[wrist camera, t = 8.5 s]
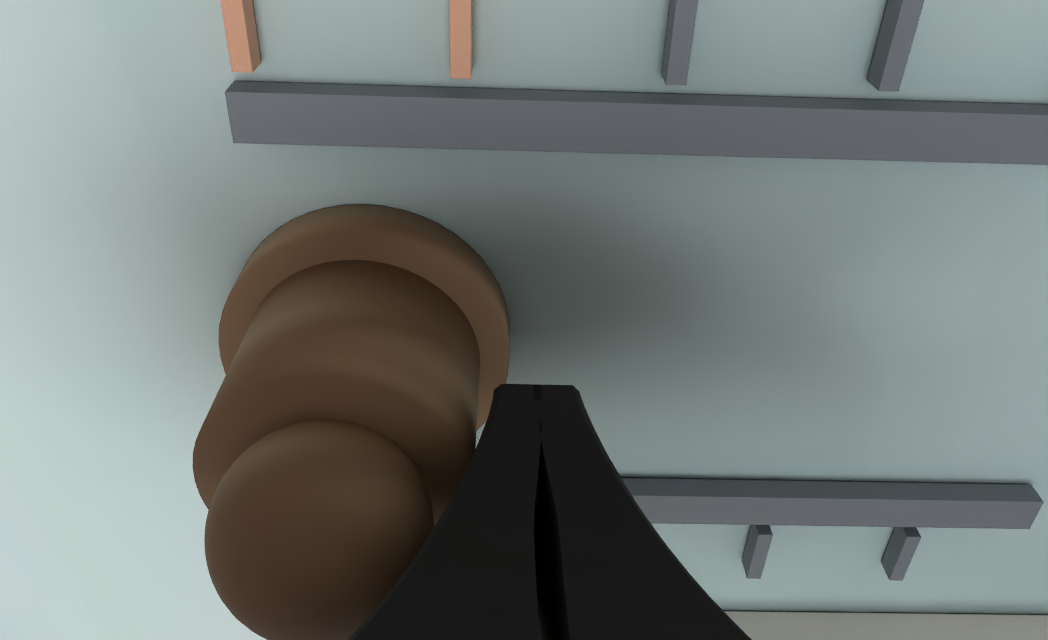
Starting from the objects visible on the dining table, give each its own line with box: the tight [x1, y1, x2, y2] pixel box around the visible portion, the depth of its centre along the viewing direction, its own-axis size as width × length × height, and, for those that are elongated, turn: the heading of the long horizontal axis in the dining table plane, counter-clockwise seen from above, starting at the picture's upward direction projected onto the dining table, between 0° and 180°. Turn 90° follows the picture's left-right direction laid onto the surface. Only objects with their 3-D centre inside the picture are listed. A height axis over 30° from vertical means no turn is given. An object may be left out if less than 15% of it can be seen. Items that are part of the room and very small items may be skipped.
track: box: [220, 0, 1048, 580], centre depth 15 cm, size 16×12×1 cm
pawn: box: [193, 204, 509, 640], centre depth 13 cm, size 5×5×6 cm
